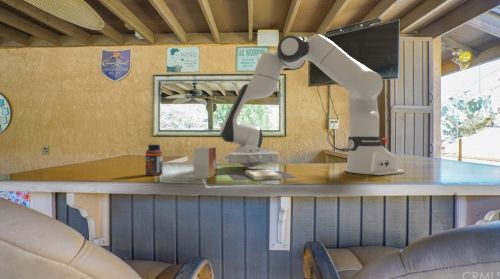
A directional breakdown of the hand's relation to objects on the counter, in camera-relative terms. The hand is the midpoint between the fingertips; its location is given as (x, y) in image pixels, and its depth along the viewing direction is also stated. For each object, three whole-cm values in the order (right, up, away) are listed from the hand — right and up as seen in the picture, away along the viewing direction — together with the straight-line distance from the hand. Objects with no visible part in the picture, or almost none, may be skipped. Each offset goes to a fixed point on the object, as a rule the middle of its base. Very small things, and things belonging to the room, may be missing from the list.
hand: (258, 159), depth 103 cm
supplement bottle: (-39, -6, +2) cm, 39 cm away
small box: (-19, -6, -3) cm, 20 cm away
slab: (0, -5, +1) cm, 5 cm away
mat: (+1, -6, -2) cm, 7 cm away
